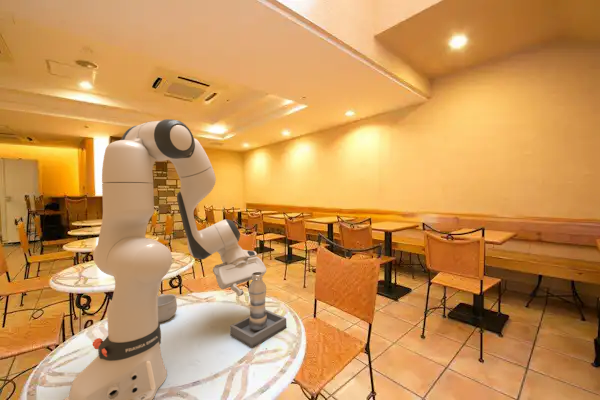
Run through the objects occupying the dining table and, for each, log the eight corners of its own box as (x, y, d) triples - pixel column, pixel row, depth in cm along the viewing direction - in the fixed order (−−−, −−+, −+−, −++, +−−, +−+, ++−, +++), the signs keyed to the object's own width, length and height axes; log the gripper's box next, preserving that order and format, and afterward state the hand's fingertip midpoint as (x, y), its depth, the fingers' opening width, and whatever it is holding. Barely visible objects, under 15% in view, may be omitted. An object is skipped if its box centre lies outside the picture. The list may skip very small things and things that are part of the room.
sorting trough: (252, 348, 82) (251, 337, 82) (230, 335, 89) (230, 325, 89) (286, 327, 94) (286, 318, 94) (264, 317, 102) (264, 309, 101)
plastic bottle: (269, 323, 95) (268, 270, 94) (265, 333, 88) (263, 277, 87) (252, 322, 95) (251, 270, 95) (246, 333, 89) (245, 276, 88)
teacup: (174, 323, 99) (173, 302, 99) (142, 327, 96) (141, 306, 96) (180, 307, 113) (180, 289, 112) (153, 311, 110) (152, 293, 110)
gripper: (214, 261, 90) (230, 295, 84) (258, 250, 106) (275, 278, 100) (207, 271, 93) (223, 305, 87) (252, 259, 109) (268, 287, 103)
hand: (251, 290), depth 94 cm, fingers open, 8 cm apart
